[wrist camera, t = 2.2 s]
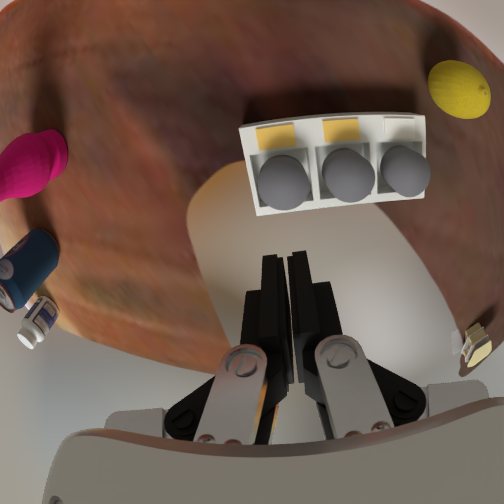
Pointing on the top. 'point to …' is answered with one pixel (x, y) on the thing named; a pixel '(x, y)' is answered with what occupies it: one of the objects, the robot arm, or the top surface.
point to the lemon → (459, 89)
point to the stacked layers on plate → (472, 344)
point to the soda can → (26, 268)
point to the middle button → (348, 175)
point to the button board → (330, 149)
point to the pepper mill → (31, 163)
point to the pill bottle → (38, 321)
